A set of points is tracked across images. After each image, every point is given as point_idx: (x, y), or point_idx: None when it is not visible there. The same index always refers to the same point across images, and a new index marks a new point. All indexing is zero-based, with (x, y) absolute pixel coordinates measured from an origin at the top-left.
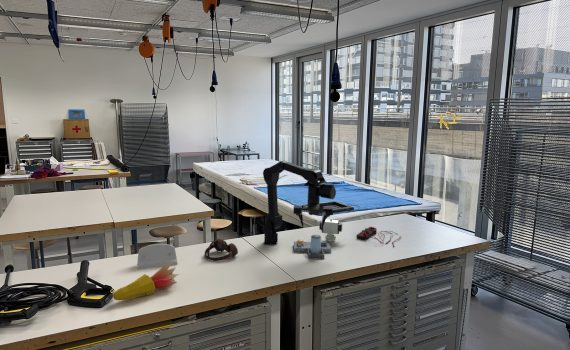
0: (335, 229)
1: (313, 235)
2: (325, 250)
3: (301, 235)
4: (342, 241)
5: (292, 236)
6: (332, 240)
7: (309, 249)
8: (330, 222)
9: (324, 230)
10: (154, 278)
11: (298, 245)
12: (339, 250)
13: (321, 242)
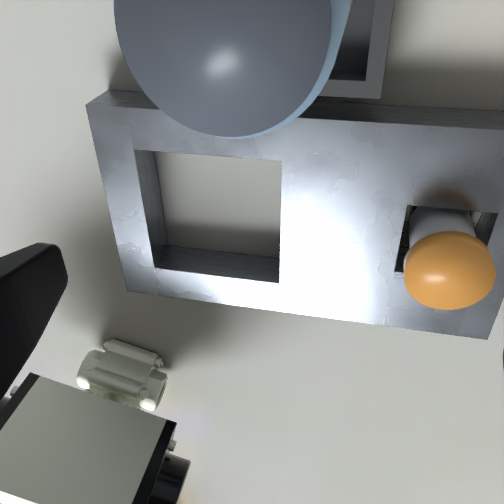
0: (32, 418)
1: (272, 87)
2: None
3: (348, 471)
4: (46, 337)
5: (426, 469)
6: (111, 346)
7: (352, 90)
8: (44, 502)
9: (144, 435)
10: None
11: (469, 225)
12: (36, 151)
13: (194, 285)
